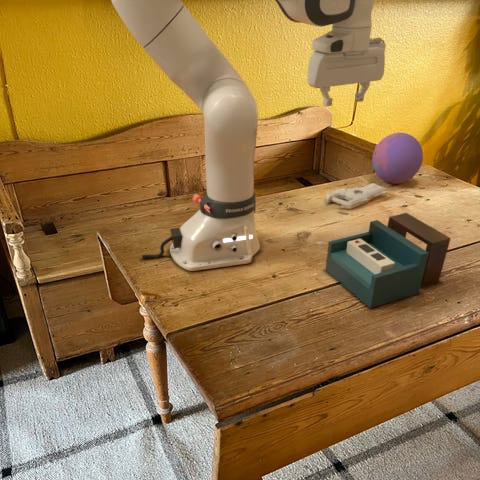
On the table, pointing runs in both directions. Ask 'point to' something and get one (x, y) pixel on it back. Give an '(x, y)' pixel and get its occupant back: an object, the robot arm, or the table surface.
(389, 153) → the decorative ball
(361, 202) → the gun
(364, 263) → the remote
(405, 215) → the brown wooden box
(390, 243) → the teal armchair
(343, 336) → the table surface
